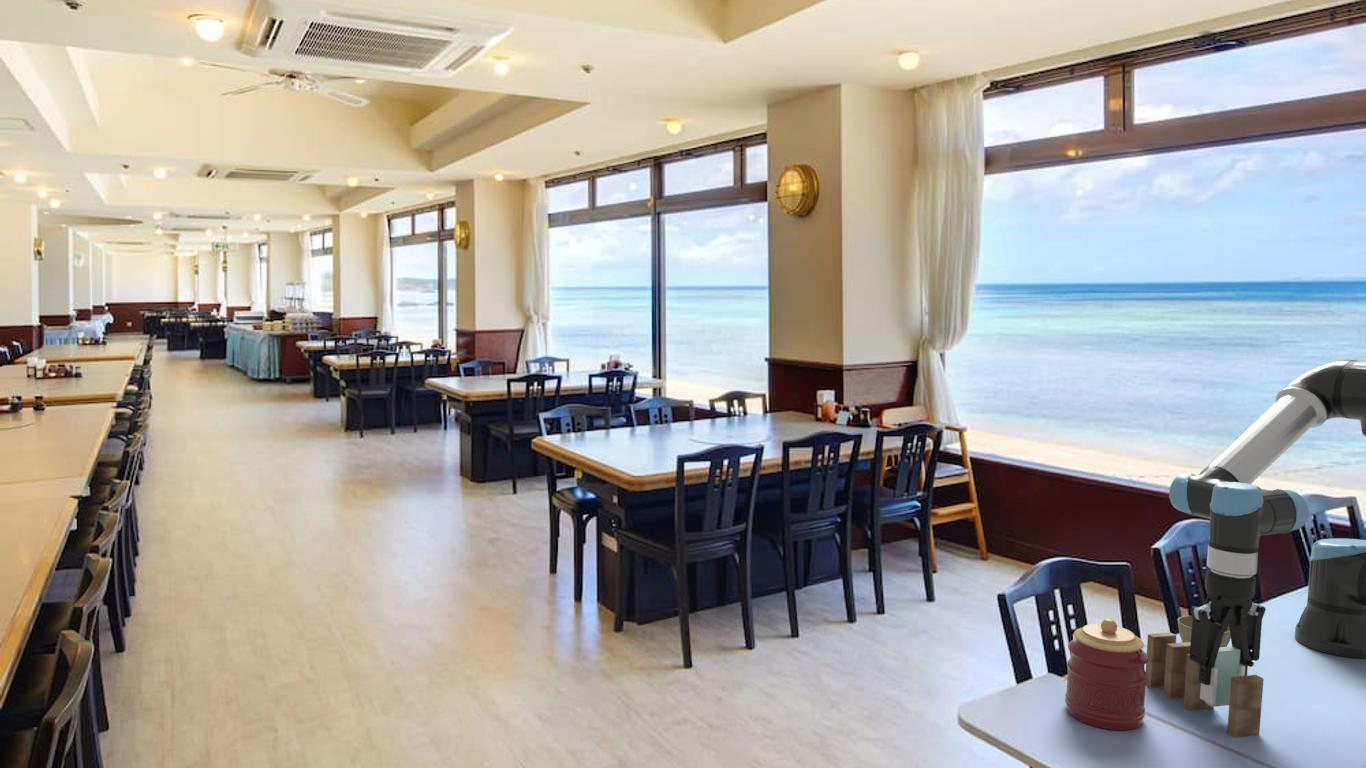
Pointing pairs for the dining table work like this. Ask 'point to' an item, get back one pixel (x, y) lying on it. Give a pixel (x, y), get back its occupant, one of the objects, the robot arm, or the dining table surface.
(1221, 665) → the domino
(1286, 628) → the dining table surface
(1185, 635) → the flower pot
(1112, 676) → the canister
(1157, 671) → the domino
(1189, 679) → the domino
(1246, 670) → the robot arm
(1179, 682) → the domino
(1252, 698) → the domino
